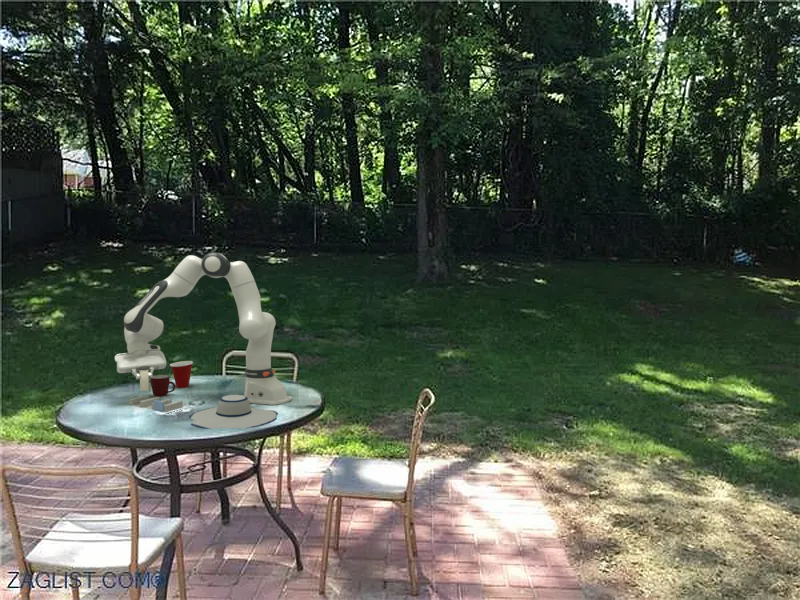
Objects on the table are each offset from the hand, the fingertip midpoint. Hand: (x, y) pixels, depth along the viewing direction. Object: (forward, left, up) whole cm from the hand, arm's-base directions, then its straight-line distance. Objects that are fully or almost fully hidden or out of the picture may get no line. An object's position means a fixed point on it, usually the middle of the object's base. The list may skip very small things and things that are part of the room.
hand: (144, 377), depth 298 cm
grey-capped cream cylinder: (0, 0, -5) cm, 5 cm away
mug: (+7, -16, -13) cm, 22 cm away
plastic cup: (+17, -37, -13) cm, 43 cm away
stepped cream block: (-6, 0, -13) cm, 14 cm away
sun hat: (-43, -7, -14) cm, 46 cm away
